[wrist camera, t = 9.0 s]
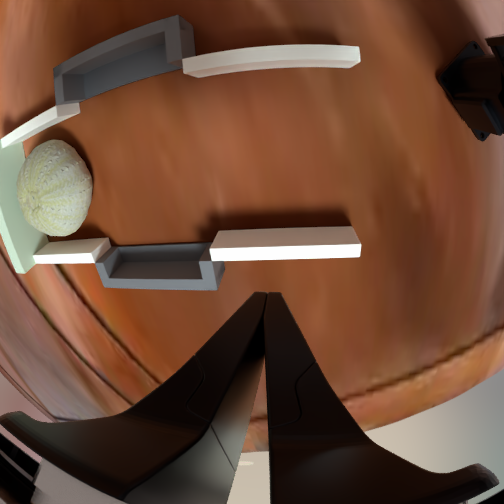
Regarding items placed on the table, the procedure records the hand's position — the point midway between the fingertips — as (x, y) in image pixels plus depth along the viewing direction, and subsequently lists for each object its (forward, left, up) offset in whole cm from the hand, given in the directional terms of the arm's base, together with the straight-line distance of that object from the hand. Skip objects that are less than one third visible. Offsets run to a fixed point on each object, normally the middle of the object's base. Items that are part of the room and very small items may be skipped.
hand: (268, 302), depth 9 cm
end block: (+16, -21, -13) cm, 29 cm away
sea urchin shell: (+12, -16, -13) cm, 24 cm away
